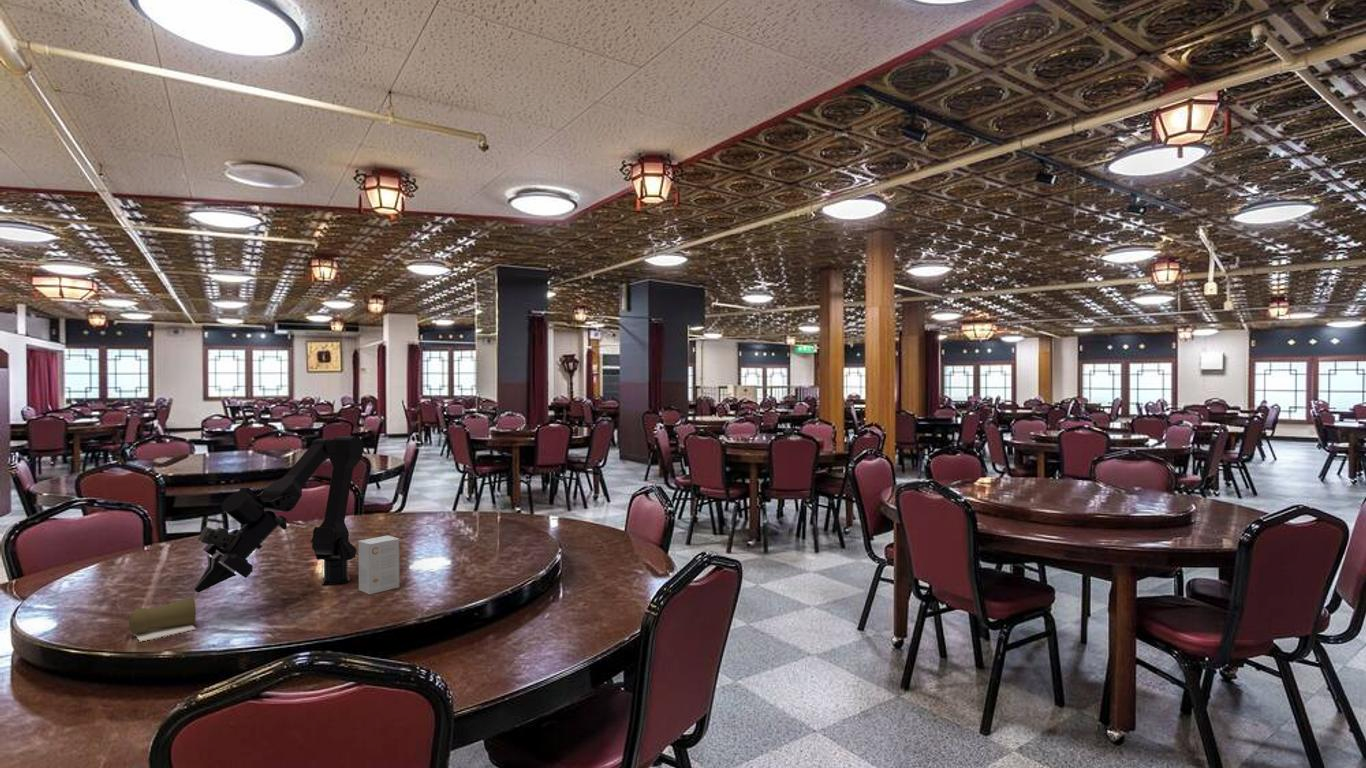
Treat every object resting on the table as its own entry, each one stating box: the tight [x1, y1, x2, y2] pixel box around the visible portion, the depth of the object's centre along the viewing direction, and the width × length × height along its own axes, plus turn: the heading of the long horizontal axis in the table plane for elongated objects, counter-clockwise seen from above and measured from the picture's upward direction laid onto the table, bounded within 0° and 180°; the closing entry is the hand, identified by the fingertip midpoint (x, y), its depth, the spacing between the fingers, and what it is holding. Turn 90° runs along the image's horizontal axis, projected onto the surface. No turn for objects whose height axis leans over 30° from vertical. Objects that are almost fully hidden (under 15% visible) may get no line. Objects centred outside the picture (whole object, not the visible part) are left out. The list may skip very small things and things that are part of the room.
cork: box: [128, 596, 197, 635], centre depth 145 cm, size 6×6×11 cm
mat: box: [133, 624, 197, 643], centre depth 145 cm, size 10×10×1 cm
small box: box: [357, 535, 400, 595], centre depth 174 cm, size 8×6×13 cm
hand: (196, 591), depth 149 cm, fingers closed
